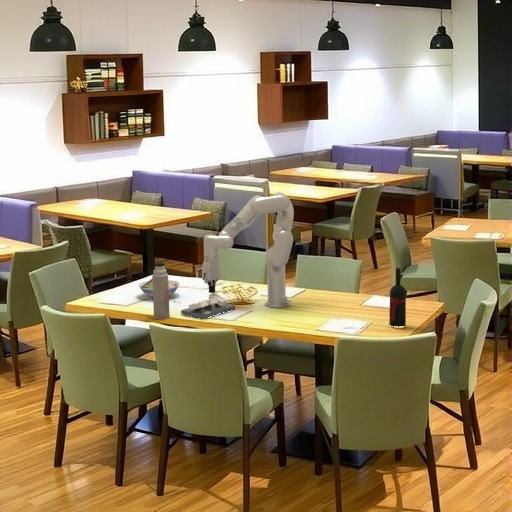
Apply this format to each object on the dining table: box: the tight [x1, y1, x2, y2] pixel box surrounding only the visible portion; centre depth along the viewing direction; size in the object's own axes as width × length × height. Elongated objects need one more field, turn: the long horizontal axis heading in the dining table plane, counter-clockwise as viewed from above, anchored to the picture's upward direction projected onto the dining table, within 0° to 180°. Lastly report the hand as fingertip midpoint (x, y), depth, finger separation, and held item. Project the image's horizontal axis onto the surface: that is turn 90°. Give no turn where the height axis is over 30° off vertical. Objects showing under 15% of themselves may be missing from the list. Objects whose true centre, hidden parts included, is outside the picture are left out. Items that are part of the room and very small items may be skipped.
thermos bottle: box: [151, 262, 171, 320], centre depth 484 cm, size 8×8×28 cm
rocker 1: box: [188, 300, 208, 310], centre depth 487 cm, size 9×4×3 cm, turn 49°
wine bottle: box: [388, 265, 407, 327], centre depth 457 cm, size 8×10×30 cm
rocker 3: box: [207, 292, 228, 306], centre depth 498 cm, size 9×4×2 cm, turn 51°
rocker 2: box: [200, 298, 218, 305], centre depth 493 cm, size 9×4×3 cm, turn 49°
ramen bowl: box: [138, 278, 181, 298], centre depth 528 cm, size 25×23×8 cm
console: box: [180, 303, 236, 320], centre depth 493 cm, size 16×24×4 cm, turn 140°
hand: (212, 292), depth 500 cm, fingers closed
